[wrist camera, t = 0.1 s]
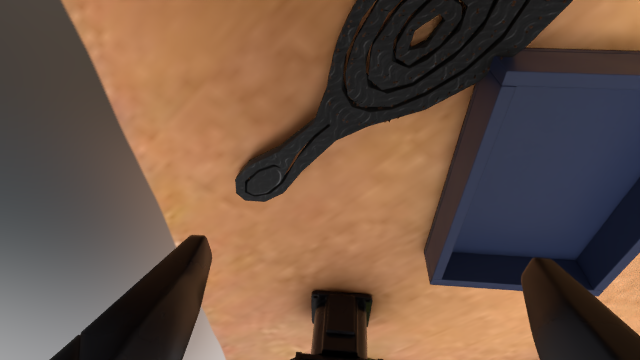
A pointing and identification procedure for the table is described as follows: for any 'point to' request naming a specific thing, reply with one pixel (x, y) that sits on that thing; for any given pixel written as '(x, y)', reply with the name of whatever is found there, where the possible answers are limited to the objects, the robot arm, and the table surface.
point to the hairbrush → (399, 73)
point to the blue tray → (543, 172)
